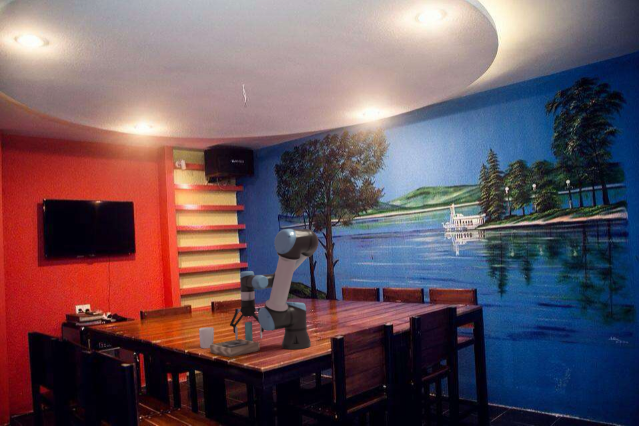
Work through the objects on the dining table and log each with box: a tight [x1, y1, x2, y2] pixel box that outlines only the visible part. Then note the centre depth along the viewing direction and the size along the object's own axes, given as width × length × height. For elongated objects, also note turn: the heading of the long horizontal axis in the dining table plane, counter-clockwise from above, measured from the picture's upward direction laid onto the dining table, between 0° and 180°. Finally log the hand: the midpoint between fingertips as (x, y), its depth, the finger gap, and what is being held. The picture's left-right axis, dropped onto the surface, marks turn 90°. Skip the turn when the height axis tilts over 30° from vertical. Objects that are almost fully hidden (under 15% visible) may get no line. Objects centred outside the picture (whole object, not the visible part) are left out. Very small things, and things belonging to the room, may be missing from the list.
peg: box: [244, 321, 254, 342], centre depth 257 cm, size 4×4×12 cm
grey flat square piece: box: [209, 338, 261, 358], centre depth 240 cm, size 18×18×4 cm
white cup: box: [198, 326, 215, 349], centre depth 255 cm, size 8×8×10 cm
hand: (248, 338), depth 257 cm, fingers open, 13 cm apart
